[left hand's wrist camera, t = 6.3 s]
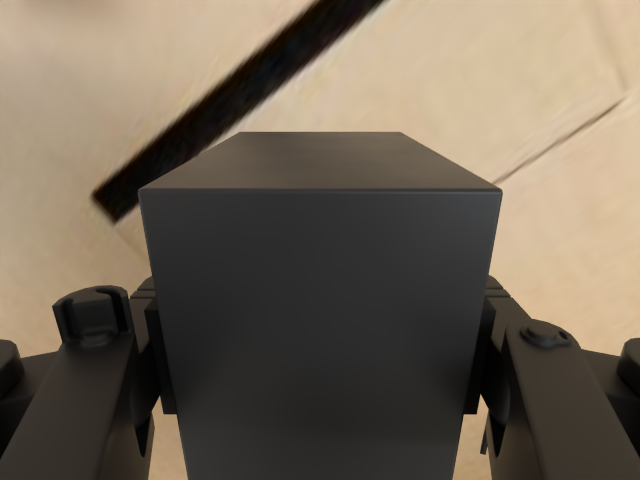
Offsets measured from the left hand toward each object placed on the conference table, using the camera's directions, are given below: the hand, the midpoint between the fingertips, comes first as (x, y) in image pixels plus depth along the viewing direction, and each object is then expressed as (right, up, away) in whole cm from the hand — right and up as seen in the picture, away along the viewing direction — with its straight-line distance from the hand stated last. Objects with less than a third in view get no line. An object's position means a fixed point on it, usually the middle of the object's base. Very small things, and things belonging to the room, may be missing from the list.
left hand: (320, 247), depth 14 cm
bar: (0, -7, +3) cm, 8 cm away
